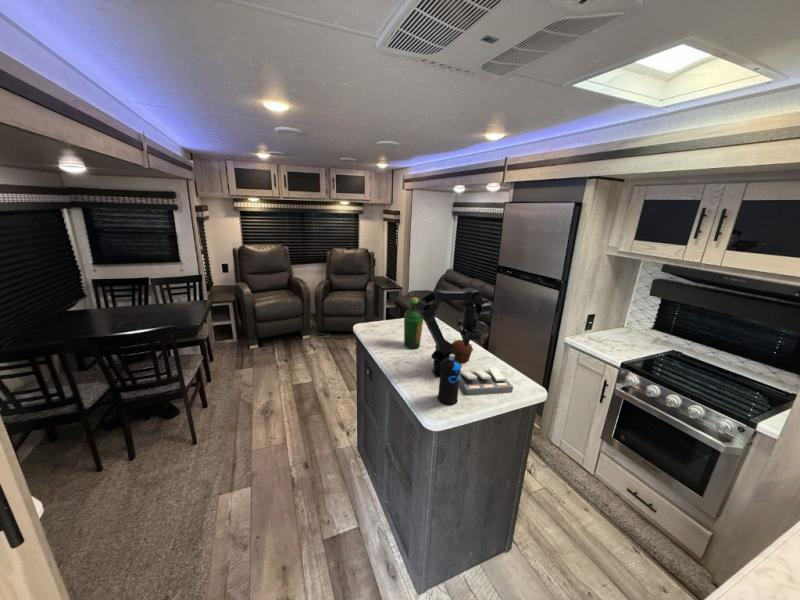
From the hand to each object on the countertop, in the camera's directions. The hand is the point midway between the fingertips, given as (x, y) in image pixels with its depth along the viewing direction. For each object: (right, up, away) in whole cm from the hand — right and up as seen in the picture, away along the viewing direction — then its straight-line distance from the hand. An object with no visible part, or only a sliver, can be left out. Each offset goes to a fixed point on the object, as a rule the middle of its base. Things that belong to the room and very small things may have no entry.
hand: (465, 345), depth 148 cm
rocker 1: (-1, -12, -11) cm, 16 cm away
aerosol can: (-12, -19, -22) cm, 31 cm away
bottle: (-25, -4, +24) cm, 35 cm away
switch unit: (+5, -16, -10) cm, 19 cm away
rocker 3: (+12, -12, -9) cm, 19 cm away
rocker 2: (+5, -12, -10) cm, 16 cm away
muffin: (0, -9, +13) cm, 15 cm away
